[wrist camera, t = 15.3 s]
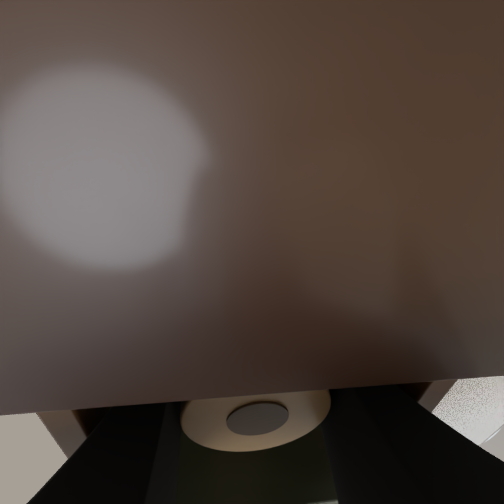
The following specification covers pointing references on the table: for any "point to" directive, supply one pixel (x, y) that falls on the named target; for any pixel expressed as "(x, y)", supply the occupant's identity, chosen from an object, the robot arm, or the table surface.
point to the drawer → (241, 459)
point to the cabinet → (247, 197)
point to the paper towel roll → (253, 419)
